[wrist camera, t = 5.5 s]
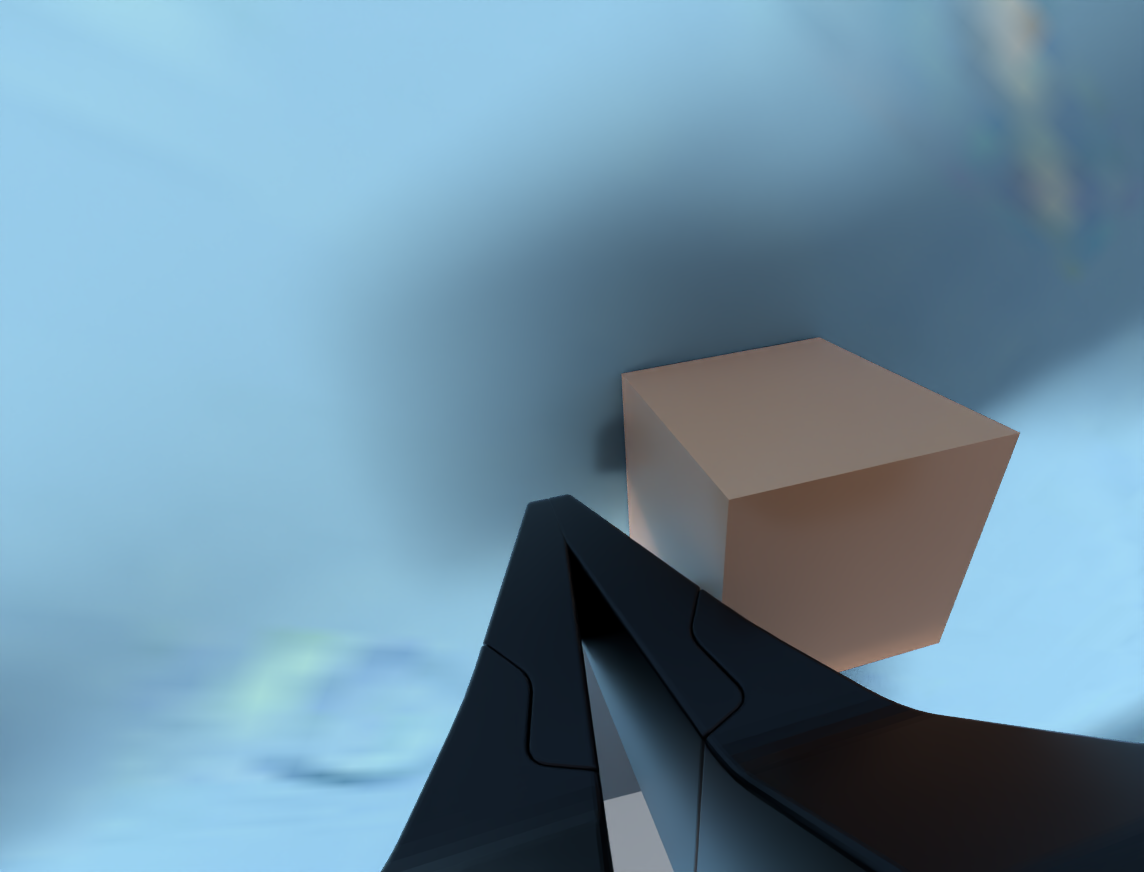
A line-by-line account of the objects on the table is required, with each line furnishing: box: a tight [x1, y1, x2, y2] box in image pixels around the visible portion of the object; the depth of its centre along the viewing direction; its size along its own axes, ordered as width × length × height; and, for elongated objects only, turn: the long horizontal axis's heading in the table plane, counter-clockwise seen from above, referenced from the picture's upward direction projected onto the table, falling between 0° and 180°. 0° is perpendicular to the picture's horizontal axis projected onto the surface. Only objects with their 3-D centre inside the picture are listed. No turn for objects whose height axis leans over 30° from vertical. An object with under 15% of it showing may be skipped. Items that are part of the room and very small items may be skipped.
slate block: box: [582, 645, 674, 872], centre depth 12 cm, size 4×4×4 cm
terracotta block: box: [621, 337, 1020, 672], centre depth 9 cm, size 4×4×4 cm
